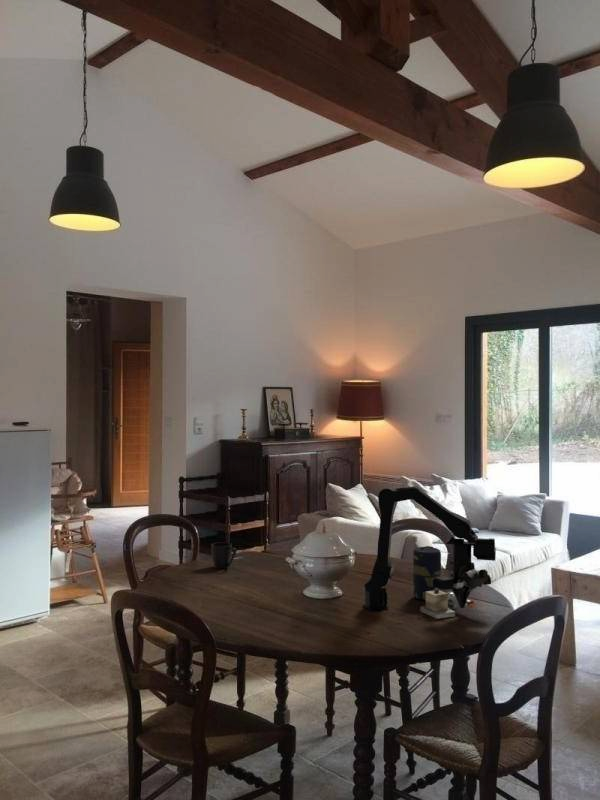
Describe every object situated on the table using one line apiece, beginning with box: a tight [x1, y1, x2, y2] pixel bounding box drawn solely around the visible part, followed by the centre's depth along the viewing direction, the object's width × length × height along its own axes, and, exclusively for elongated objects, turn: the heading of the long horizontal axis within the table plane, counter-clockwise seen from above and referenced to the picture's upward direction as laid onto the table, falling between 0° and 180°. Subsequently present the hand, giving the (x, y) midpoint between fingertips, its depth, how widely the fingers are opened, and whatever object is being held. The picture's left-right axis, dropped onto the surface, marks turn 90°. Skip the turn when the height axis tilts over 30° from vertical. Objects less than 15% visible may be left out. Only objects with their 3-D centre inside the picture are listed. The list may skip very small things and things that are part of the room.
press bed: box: [420, 605, 456, 620], centre depth 224 cm, size 7×9×2 cm
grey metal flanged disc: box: [448, 600, 458, 610], centre depth 231 cm, size 4×4×2 cm
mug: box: [210, 541, 237, 569], centre depth 285 cm, size 8×12×10 cm
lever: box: [445, 591, 477, 610], centre depth 226 cm, size 3×14×2 cm, turn 24°
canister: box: [412, 545, 442, 601], centre depth 242 cm, size 10×10×18 cm
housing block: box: [425, 588, 448, 611], centre depth 225 cm, size 5×5×6 cm
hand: (462, 607), depth 222 cm, fingers closed
